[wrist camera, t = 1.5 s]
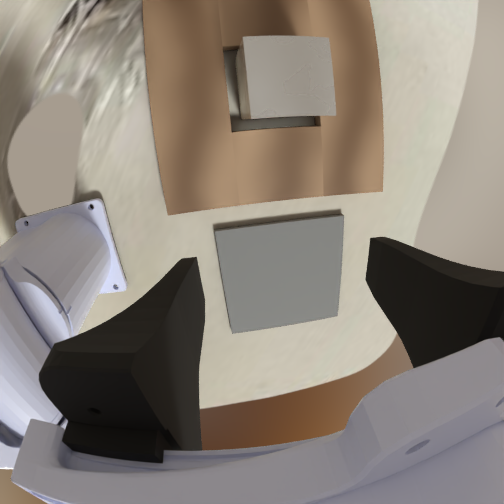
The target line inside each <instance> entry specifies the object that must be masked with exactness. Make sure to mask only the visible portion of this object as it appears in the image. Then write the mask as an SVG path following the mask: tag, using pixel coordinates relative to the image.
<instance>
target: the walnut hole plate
mask: <svg viewBox="0 0 504 504" xmlns="http://www.w3.org/2000/svg"><path fill="white" fill-rule="evenodd" d="M142 2H143V28H144V45H145V58H146V70H147V80H148V90H149V99H150V107H151V115H152V123H153V130H154V137H155V144H156V151H157V157H158V163H159V169H160V175H161V181H162V186H163V192H164V197H165V203H166V208H167V213H168V215H174V214H181V213H187V212H194V211H201V210H208V209H215V208H223V207H230V206H238V205H246V204H254V203H262V202H271V201H280V200H289V199H299V198H309V197H319V196H330V195H342V194H354V193H368V192H383V163H384V137H383V107H382V91H381V78H380V68H379V59H378V50H377V43H376V36H375V29H374V23H373V18H372V12H371V7H370V2H369V0H142ZM247 36H312V37H326V38H329V42H330V50H331V58H332V68H333V78H334V89H335V102H336V116H315V126H298V127H280V128H266V129H254V130H244V131H235V132H232V131H231V122H230V113H229V103H228V94H227V84H226V75H225V65H224V55H223V51H225V50H236V49H239V47H240V44H241V41H242V38H243V37H247Z"/></svg>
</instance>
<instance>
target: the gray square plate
mask: <svg viewBox="0 0 504 504" xmlns="http://www.w3.org/2000/svg"><path fill="white" fill-rule="evenodd" d="M343 230H344V215H342V214H338V215H329V216H320V217H311V218H303V219H294V220H286V221H277V222H269V223H261V224H253V225H245V226H238V227H230V228H223V229H215V237H216V243H217V249H218V256H219V262H220V268H221V274H222V280H223V286H224V291H225V297H226V303H227V308H228V314H229V319H230V325H231V330H232V334H233V333H241V332H248V331H255V330H262V329H268V328H274V327H281V326H287V325H293V324H298V323H304V322H309V321H315V320H320V319H325V318H330V317H335V316H337V315H338V305H339V294H340V282H341V268H342V252H343Z"/></svg>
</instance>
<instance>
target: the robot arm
mask: <svg viewBox="0 0 504 504" xmlns="http://www.w3.org/2000/svg"><path fill="white" fill-rule="evenodd" d="M90 204H92V205H93V206H94V209H92V208H91V207H90ZM26 221H28V224H27V222H26ZM15 226H16V229H17V232H18V233H16V234H15V235H14V236H13V237H11V238H10V239H9V240H8V241H6V242H5V243H4V244H3V245H1V246H0V468H1V469H13V472H12V476H11V480H12V482H13V483H15V484H17V485H18V486H20V487H21V488H23V489H24V490H26V491H27V492H29V493H31V494H33V495H34V496H36V497H38V498H39V499H41V500H43V501H45V502H46V503H48V504H504V272H501V271H491V270H486V269H481V268H476V267H471V266H467V265H462V264H459V263H456V262H452V261H449V260H446V259H443V258H440V257H437V256H434V255H432V254H429V253H427V252H424V251H422V250H419V249H416V248H414V247H412V246H409V245H407V244H404V243H402V242H399V241H396V240H393V239H390V238H386V237H376V238H370V247H369V256H368V264H367V272H366V282H367V284H368V286H369V288H370V290H371V292H372V294H373V296H374V298H375V300H376V301H377V303H378V304H379V306H380V307H381V309H382V310H383V312H384V313H385V315H386V316H387V318H388V319H389V321H390V322H391V324H392V325H393V327H394V328H395V330H396V332H397V333H398V335H399V337H400V338H401V340H402V342H403V344H404V346H405V349H406V351H407V353H408V355H409V357H410V360H411V363H412V365H413V369H411V370H408V371H406V372H404V373H401V374H399V375H397V376H395V377H393V378H390V379H389V380H386V381H384V382H383V383H382V384H380V385H379V386H378V387H376V388H375V389H374V390H372V391H371V392H369V393H368V394H367V395H365V396H364V397H363V399H362V400H361V401H360V403H359V404H358V405H357V407H356V408H355V409H354V411H353V412H352V414H351V415H350V417H349V420H348V423H347V425H346V428H345V429H344V430H342V431H339V432H336V433H334V434H331V435H327V436H323V437H318V438H313V439H308V440H303V441H297V442H291V443H285V444H278V445H271V446H263V447H253V448H243V449H231V450H211V451H209V450H208V451H202V442H201V429H200V411H199V364H200V356H201V348H202V340H203V332H204V324H205V298H204V293H203V288H202V283H201V278H200V272H199V267H198V262H197V257H192V258H183V259H181V260H179V261H178V262H177V263H176V264H175V266H174V267H173V268H172V269H171V270H170V271H169V272H168V273H167V274H166V275H165V276H164V277H163V278H162V279H161V280H160V281H159V282H158V283H157V284H156V285H155V286H154V287H152V288H151V289H150V290H149V291H148V292H147V293H146V294H145V295H144V296H143V297H141V298H140V299H139V300H138V301H136V302H135V303H134V304H132V305H131V306H130V307H128V308H127V309H125V310H124V311H122V312H121V313H119V314H117V315H116V316H114V317H113V318H111V319H109V320H108V321H106V322H104V323H102V324H100V325H98V326H96V327H94V328H92V329H90V330H88V331H86V332H84V333H81V334H79V335H78V332H79V330H80V328H81V326H82V324H83V322H84V320H85V318H86V317H87V315H88V313H89V311H90V309H91V307H92V305H93V303H94V301H95V299H96V298H97V296H98V294H102V293H111V292H120V291H125V290H126V288H127V282H126V279H125V276H124V273H123V270H122V266H121V263H120V260H119V257H118V254H117V250H116V247H115V244H114V240H113V237H112V233H111V229H110V226H109V222H108V218H107V214H106V210H105V206H104V203H103V201H102V200H101V199H99V198H96V199H92V200H87V201H83V202H79V203H75V204H71V205H67V206H63V207H59V208H55V209H52V210H48V211H44V212H41V213H37V214H34V215H30V216H27V217H23V218H20V219H18V220H17V221H16V222H15ZM114 284H115V285H118V287H116V286H115V285H114Z"/></svg>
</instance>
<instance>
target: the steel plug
mask: <svg viewBox="0 0 504 504" xmlns="http://www.w3.org/2000/svg"><path fill="white" fill-rule="evenodd" d="M235 63H236V73H237V82H238V92H239V102H240V112H241V119H258V118H271V117H289V116H336V102H335V89H334V78H333V68H332V58H331V50H330V42H329V38H326V37H312V36H247V37H243V38H242V41H241V44H240V47H239V50H238V53H237V56H236V59H235Z"/></svg>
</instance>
